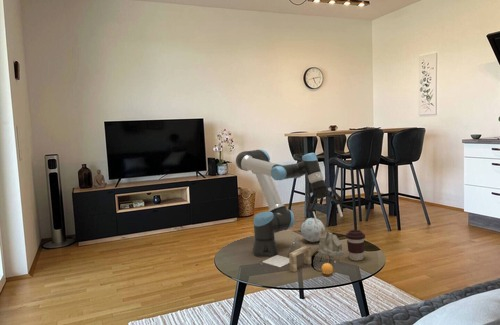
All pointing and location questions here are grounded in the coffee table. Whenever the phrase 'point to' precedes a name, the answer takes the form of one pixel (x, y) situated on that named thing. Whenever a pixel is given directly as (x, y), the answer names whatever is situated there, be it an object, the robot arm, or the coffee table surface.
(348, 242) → the coffee cup
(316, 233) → the puzzle ball
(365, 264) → the coffee table surface
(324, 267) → the ball
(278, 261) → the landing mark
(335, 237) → the ceramic cottage
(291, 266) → the bridge
